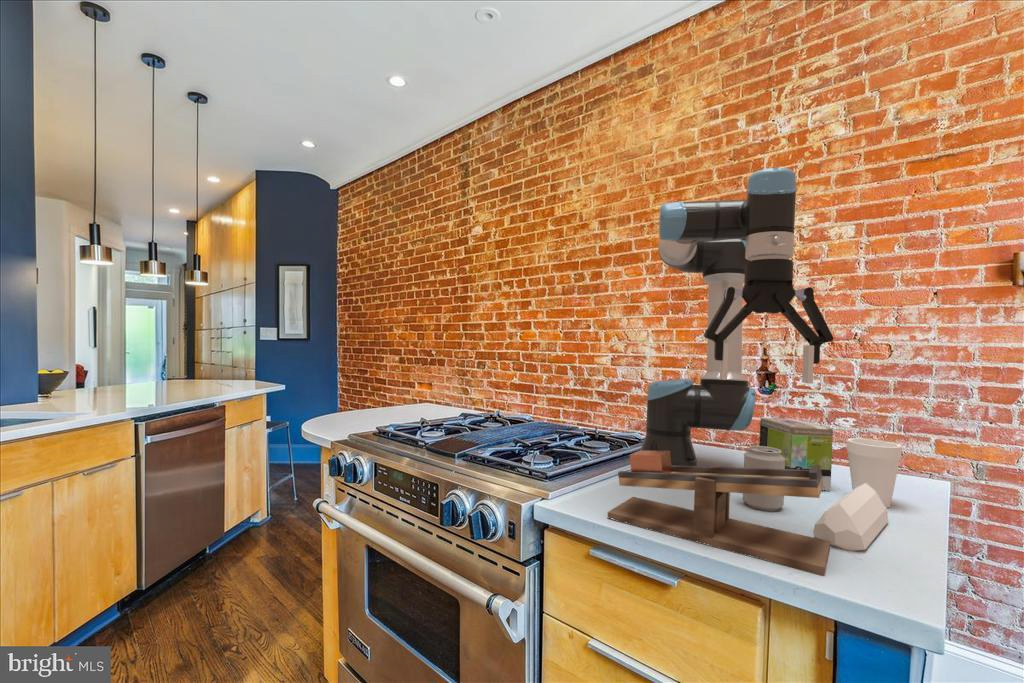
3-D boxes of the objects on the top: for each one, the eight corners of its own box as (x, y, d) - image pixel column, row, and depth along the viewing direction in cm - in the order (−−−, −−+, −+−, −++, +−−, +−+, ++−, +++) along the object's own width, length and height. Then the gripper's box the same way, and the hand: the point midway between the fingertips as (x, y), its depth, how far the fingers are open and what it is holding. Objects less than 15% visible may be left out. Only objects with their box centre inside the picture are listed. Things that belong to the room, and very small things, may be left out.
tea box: (832, 492, 112) (834, 427, 112) (788, 490, 112) (791, 426, 112) (795, 474, 127) (797, 417, 127) (756, 472, 127) (758, 416, 127)
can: (789, 514, 96) (791, 453, 96) (748, 510, 97) (750, 450, 97) (776, 502, 103) (778, 445, 103) (738, 498, 104) (740, 443, 104)
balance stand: (607, 518, 90) (609, 462, 90) (632, 502, 100) (634, 451, 100) (824, 575, 70) (826, 503, 70) (829, 548, 80) (831, 484, 79)
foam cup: (850, 493, 111) (852, 436, 111) (902, 504, 104) (904, 443, 104) (841, 502, 104) (842, 441, 104) (895, 514, 97) (897, 449, 97)
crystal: (834, 490, 100) (797, 516, 84) (872, 479, 96) (840, 505, 79) (855, 526, 97) (821, 561, 81) (894, 517, 93) (866, 552, 76)
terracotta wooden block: (631, 476, 91) (629, 454, 91) (641, 470, 95) (639, 450, 95) (663, 477, 88) (660, 455, 88) (672, 472, 92) (669, 450, 92)
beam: (619, 485, 91) (617, 466, 91) (635, 476, 97) (634, 459, 98) (819, 498, 72) (815, 474, 72) (823, 485, 79) (820, 464, 79)
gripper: (697, 257, 84) (693, 379, 84) (859, 256, 79) (854, 386, 79) (690, 263, 91) (687, 376, 91) (838, 263, 86) (834, 382, 86)
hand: (764, 381), depth 85 cm, fingers open, 13 cm apart
